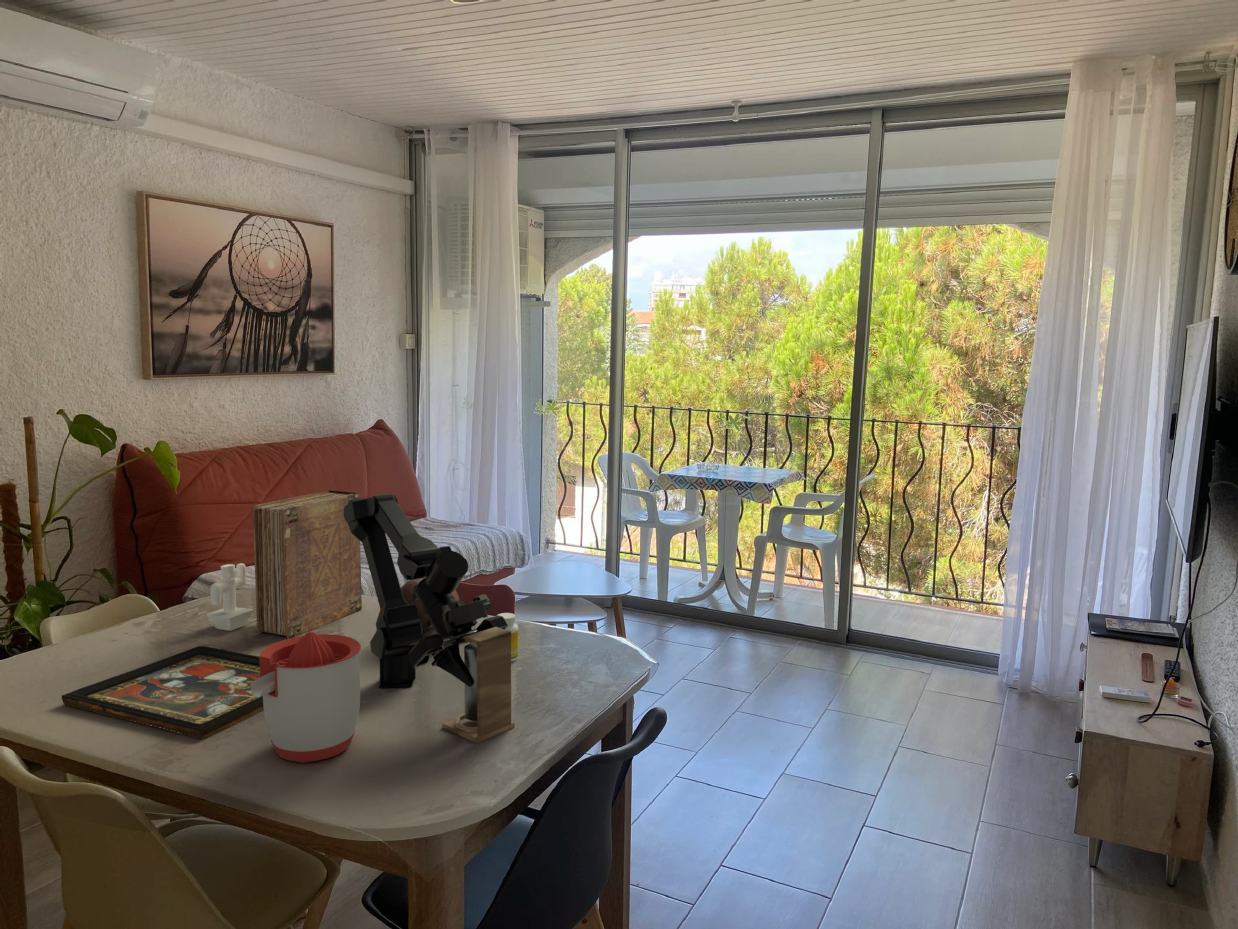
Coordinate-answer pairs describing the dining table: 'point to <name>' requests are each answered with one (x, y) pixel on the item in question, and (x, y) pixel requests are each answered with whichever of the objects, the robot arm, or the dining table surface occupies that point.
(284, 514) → the book
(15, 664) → the dining table surface
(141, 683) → the framed icon painting
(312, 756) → the citrus juicer
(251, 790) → the dining table surface
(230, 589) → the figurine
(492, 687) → the ledge stand
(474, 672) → the metal tin
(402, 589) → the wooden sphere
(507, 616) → the supplement bottle
